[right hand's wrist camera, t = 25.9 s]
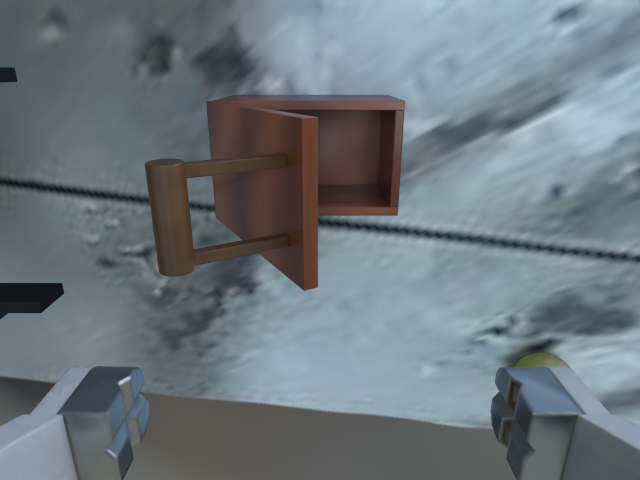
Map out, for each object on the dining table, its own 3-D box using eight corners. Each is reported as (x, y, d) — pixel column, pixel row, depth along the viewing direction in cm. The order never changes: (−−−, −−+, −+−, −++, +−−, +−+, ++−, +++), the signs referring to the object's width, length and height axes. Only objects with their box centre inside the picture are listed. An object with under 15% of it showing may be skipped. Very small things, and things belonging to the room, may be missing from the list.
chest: (388, 95, 45) (405, 100, 36) (383, 189, 48) (397, 215, 40) (234, 95, 45) (213, 100, 36) (239, 189, 48) (222, 215, 40)
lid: (318, 117, 23) (148, 126, 19) (318, 287, 26) (173, 324, 22) (217, 100, 36) (104, 104, 32) (226, 216, 39) (124, 232, 35)
